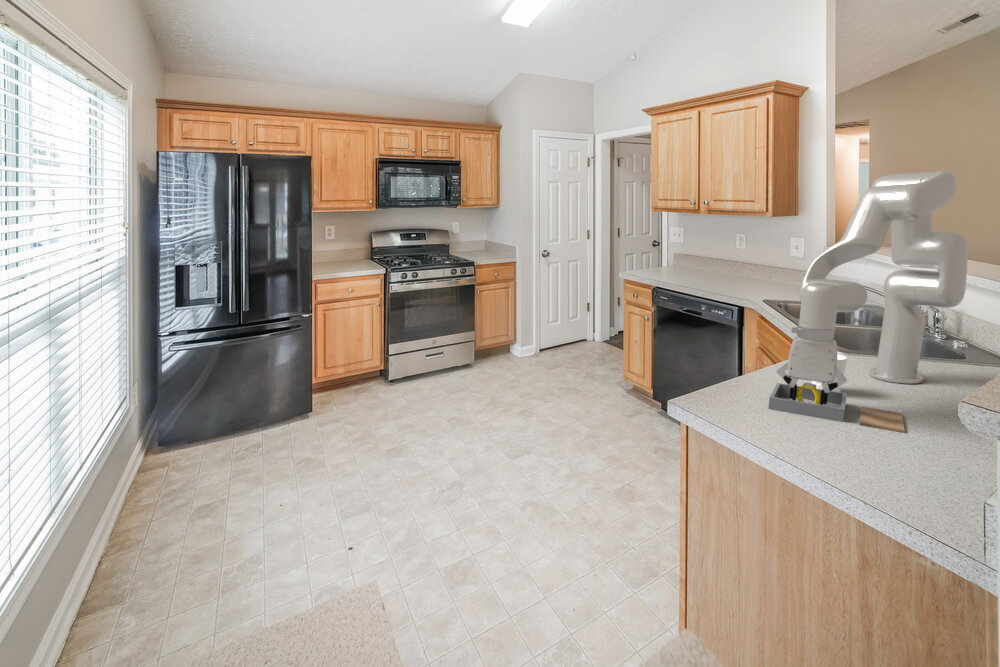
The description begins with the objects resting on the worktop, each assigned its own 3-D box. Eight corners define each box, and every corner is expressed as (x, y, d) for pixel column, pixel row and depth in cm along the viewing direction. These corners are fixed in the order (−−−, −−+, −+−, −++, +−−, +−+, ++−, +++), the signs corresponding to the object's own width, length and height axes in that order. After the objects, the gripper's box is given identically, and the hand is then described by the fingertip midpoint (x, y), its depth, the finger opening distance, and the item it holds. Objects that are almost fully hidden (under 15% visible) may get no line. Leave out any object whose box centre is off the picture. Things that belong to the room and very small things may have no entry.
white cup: (847, 396, 133) (853, 360, 131) (815, 395, 135) (819, 359, 133) (834, 387, 141) (839, 352, 139) (804, 385, 142) (808, 351, 140)
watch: (820, 410, 125) (825, 388, 123) (811, 412, 124) (816, 389, 122) (801, 401, 130) (805, 379, 128) (792, 402, 130) (796, 380, 128)
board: (860, 408, 125) (860, 406, 124) (901, 415, 120) (901, 413, 120) (859, 424, 115) (860, 422, 115) (904, 432, 110) (904, 430, 110)
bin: (776, 393, 137) (777, 382, 136) (845, 404, 128) (846, 393, 127) (768, 408, 126) (769, 397, 125) (843, 421, 117) (844, 409, 116)
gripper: (774, 333, 125) (767, 402, 129) (858, 341, 115) (847, 415, 119) (778, 327, 131) (771, 393, 135) (858, 335, 121) (848, 406, 125)
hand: (807, 403), depth 127 cm, fingers closed on watch, 5 cm apart
